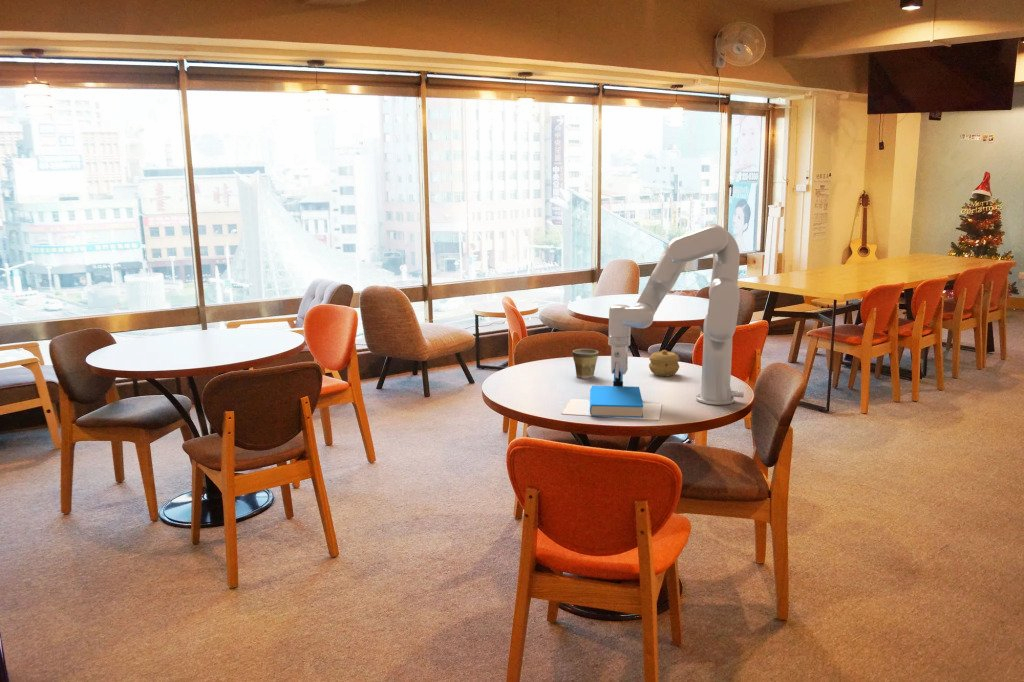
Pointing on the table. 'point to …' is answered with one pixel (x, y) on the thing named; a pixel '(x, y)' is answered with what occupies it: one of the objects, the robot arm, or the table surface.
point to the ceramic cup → (585, 362)
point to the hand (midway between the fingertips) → (617, 391)
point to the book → (616, 401)
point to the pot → (664, 363)
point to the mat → (583, 409)
